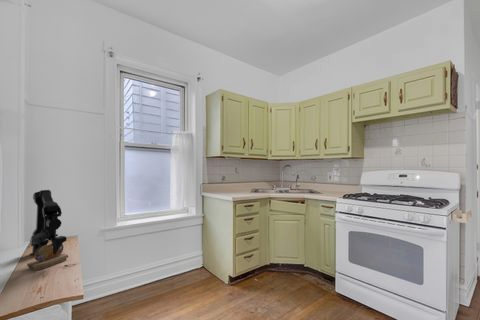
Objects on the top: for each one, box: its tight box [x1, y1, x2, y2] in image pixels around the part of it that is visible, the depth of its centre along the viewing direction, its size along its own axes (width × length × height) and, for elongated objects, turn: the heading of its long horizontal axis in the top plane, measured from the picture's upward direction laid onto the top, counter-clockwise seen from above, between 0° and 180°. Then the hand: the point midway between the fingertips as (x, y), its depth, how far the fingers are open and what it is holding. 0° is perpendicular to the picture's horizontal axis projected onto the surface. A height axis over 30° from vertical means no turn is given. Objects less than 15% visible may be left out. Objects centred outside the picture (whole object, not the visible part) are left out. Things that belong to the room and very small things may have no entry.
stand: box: [26, 253, 69, 271], centre depth 139 cm, size 8×17×3 cm, turn 165°
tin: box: [33, 242, 64, 261], centre depth 139 cm, size 15×3×8 cm, turn 165°
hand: (48, 253), depth 139 cm, fingers open, 8 cm apart
